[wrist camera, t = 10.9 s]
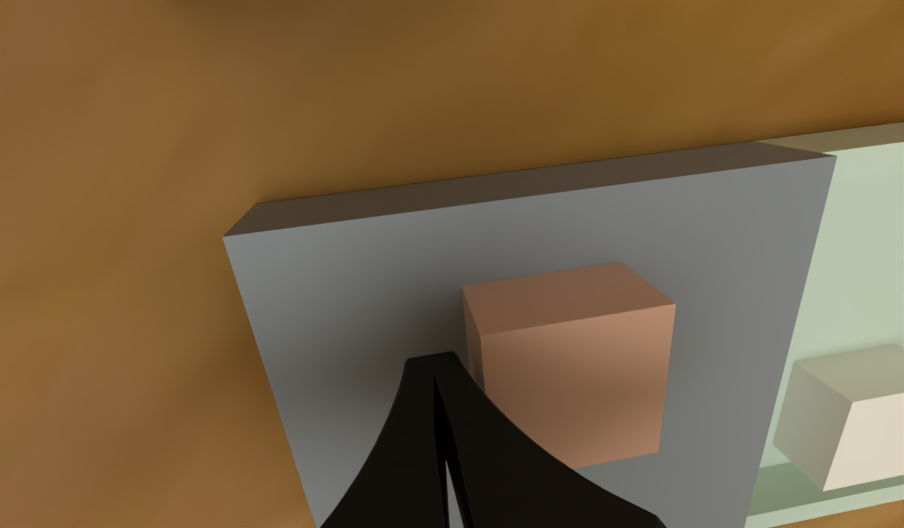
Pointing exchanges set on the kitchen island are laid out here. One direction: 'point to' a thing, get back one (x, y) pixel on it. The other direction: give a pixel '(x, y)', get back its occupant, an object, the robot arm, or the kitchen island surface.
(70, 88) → the kitchen island surface
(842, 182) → the tray
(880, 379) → the tile
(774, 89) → the kitchen island surface
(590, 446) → the peach square block
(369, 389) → the slate board
